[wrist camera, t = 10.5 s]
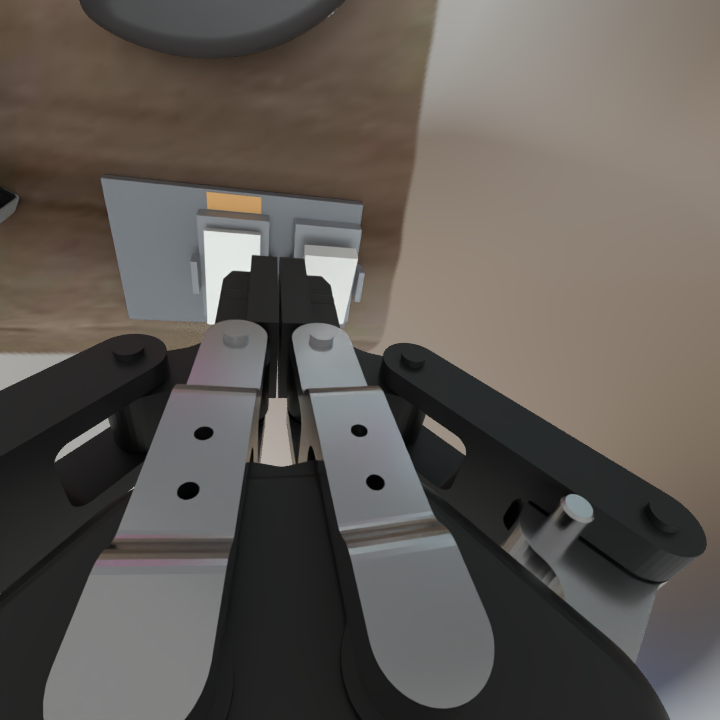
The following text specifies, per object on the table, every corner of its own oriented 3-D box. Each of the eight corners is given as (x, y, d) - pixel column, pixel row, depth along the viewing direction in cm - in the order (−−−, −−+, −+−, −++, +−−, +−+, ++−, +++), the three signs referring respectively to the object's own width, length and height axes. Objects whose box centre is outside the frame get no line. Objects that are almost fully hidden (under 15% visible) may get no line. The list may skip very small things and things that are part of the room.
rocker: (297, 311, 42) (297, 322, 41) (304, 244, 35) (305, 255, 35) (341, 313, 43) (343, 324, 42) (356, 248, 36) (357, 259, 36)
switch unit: (132, 313, 42) (120, 338, 38) (104, 174, 34) (86, 190, 31) (346, 322, 46) (352, 345, 43) (365, 201, 39) (374, 218, 35)
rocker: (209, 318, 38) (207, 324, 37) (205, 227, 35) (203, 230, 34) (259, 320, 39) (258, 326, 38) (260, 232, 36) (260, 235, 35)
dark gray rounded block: (151, 74, 31) (114, 91, 23) (115, -9, 28) (60, -19, 20) (370, 16, 30) (401, 15, 23) (357, -73, 28) (388, -107, 20)
